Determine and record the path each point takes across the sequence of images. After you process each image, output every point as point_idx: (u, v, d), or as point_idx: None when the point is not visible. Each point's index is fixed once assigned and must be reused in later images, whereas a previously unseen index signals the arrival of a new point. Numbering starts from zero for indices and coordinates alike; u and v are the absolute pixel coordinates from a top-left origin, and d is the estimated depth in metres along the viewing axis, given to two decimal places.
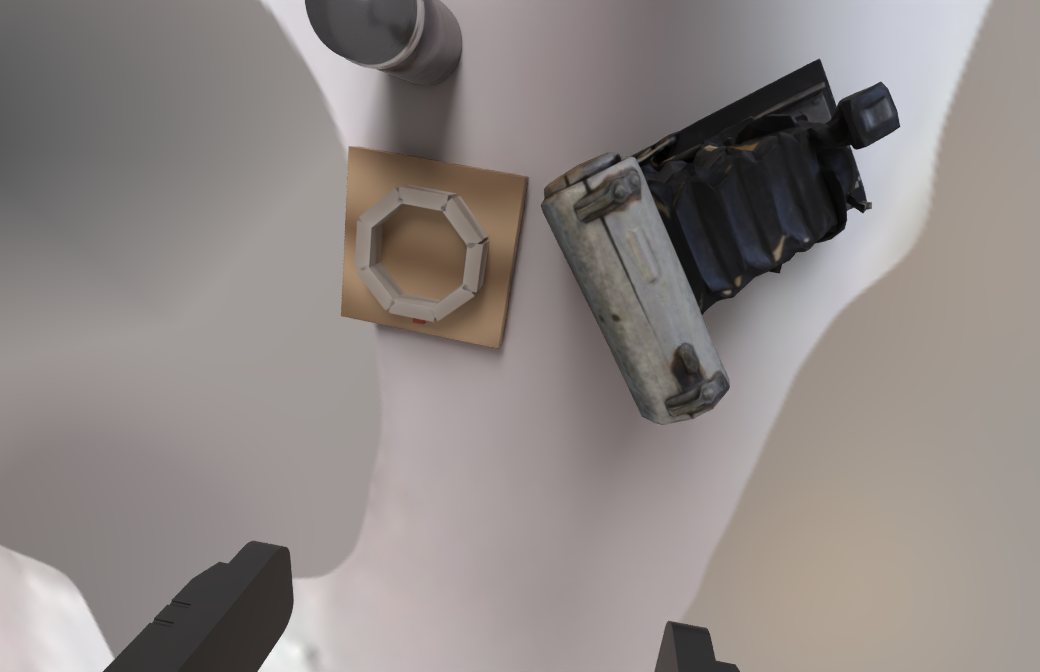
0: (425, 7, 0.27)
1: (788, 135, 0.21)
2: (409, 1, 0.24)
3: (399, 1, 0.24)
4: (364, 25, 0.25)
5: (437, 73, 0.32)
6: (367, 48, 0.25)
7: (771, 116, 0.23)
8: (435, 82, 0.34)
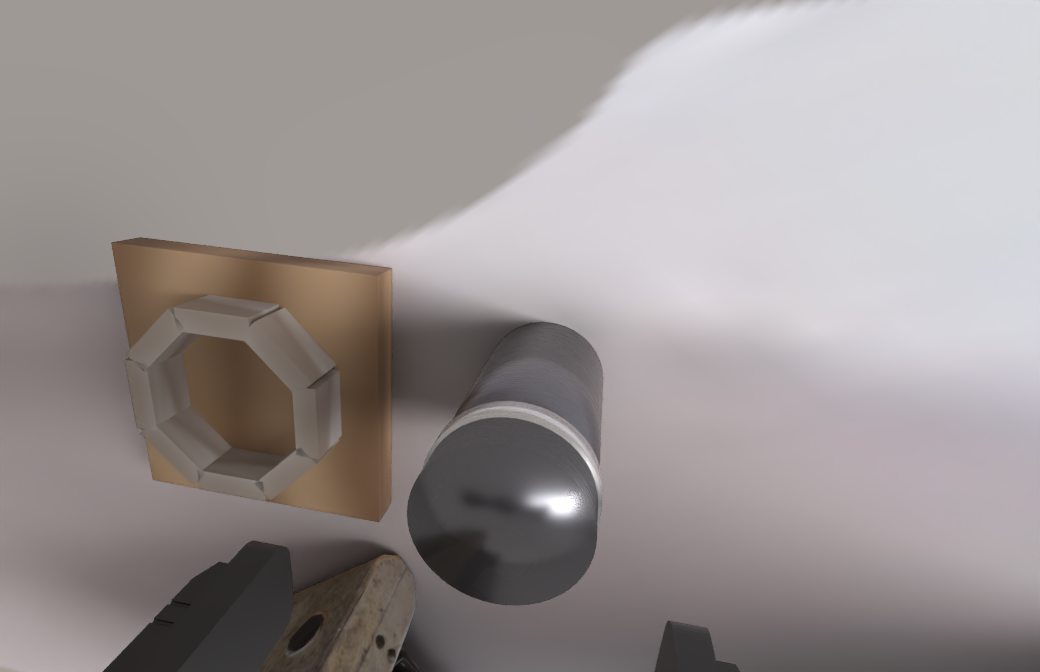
0: None
1: None
2: (505, 597, 0.15)
3: (501, 594, 0.14)
4: (461, 537, 0.14)
5: None
6: (427, 537, 0.14)
7: None
8: None
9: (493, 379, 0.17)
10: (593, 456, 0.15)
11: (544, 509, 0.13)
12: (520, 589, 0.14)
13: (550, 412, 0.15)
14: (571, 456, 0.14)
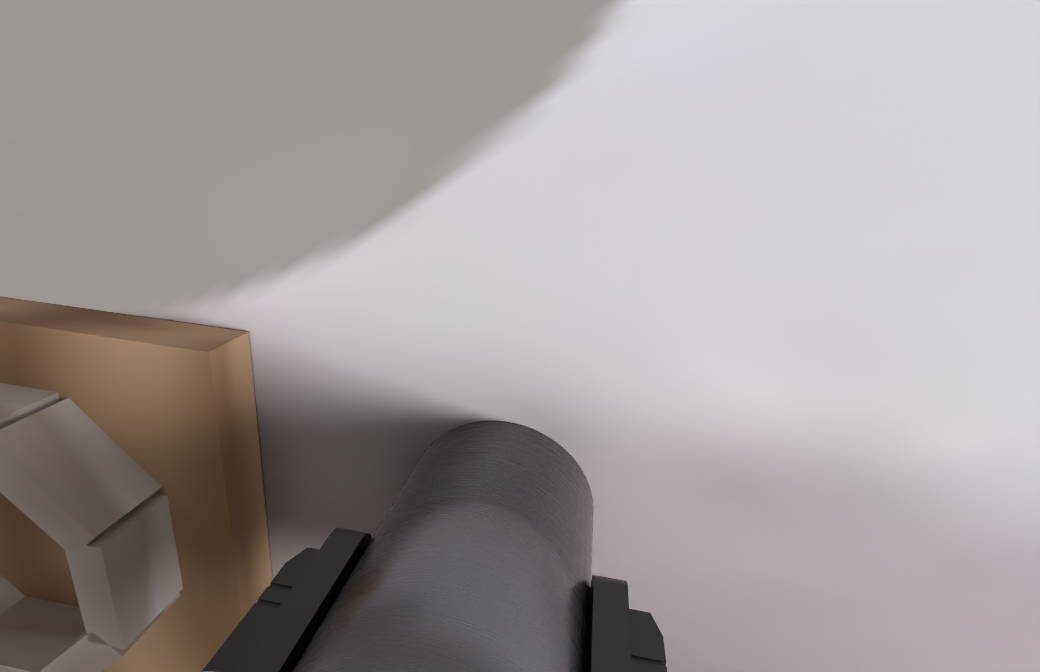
0: None
1: None
2: None
3: None
4: None
5: None
6: None
7: None
8: None
9: (369, 599, 0.08)
10: None
11: None
12: None
13: None
14: None
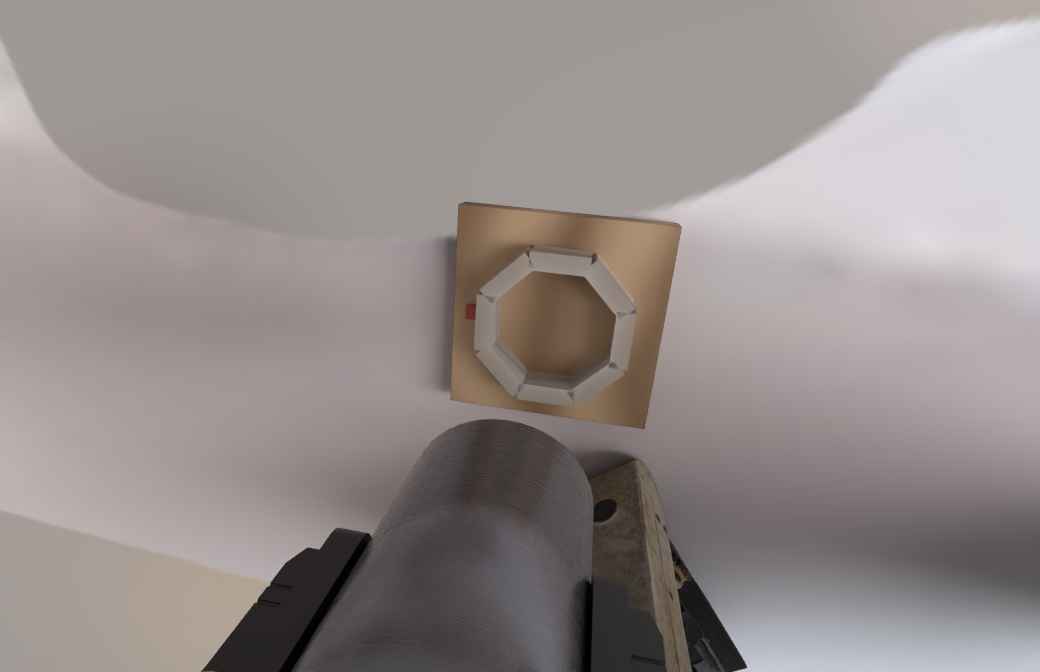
0: None
1: None
2: None
3: None
4: None
5: None
6: None
7: None
8: None
9: (369, 596, 0.08)
10: None
11: None
12: None
13: None
14: None
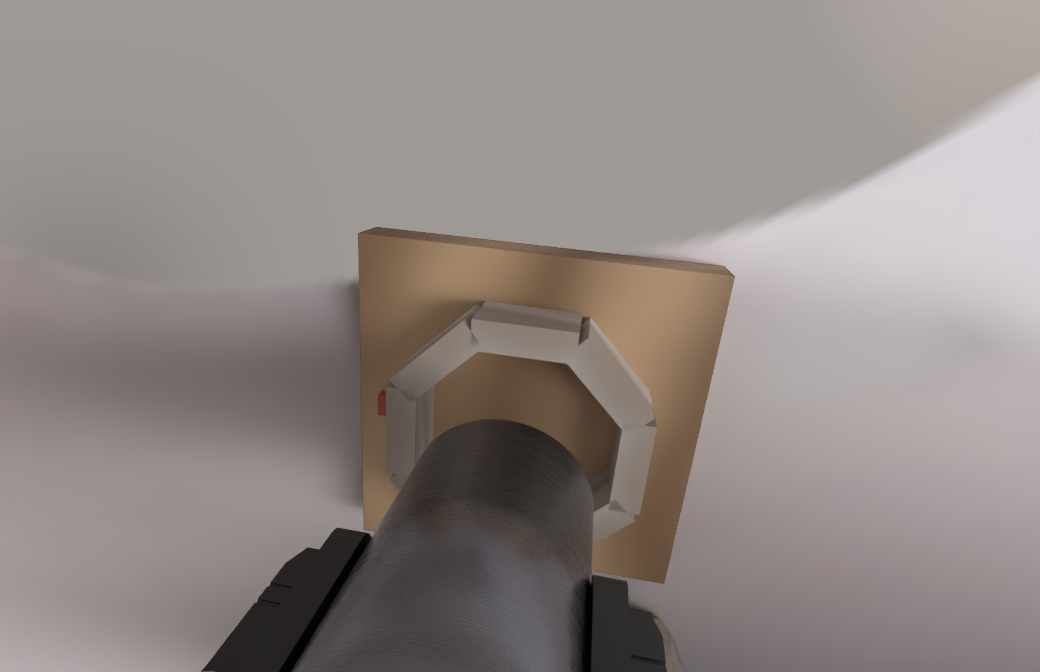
0: None
1: None
2: None
3: None
4: None
5: None
6: None
7: None
8: None
9: (369, 595, 0.08)
10: None
11: None
12: None
13: None
14: None
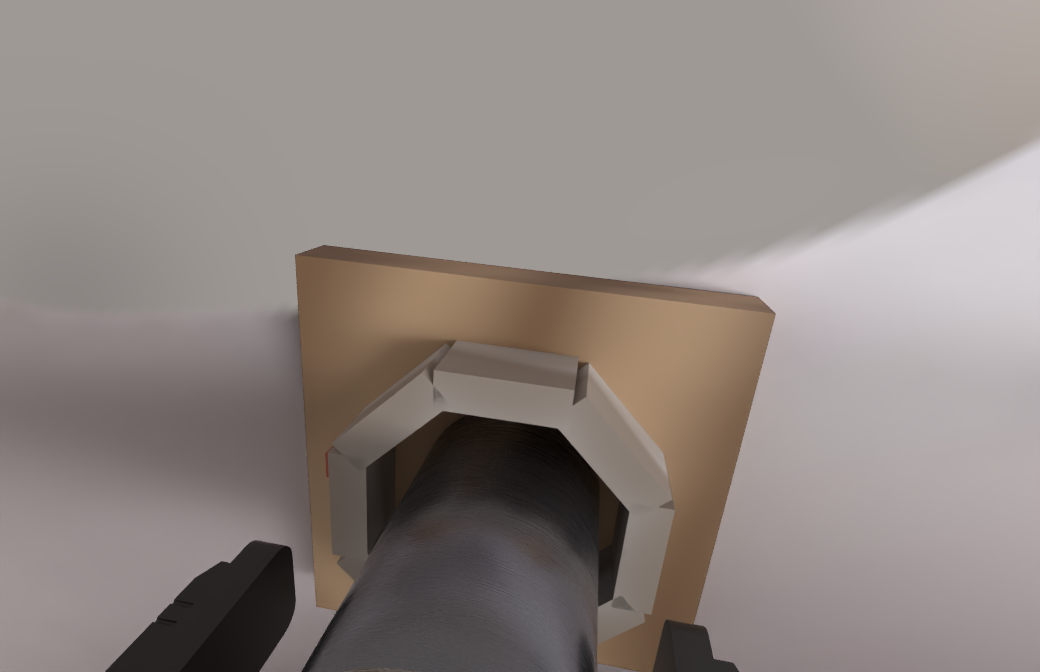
0: None
1: None
2: None
3: None
4: None
5: None
6: None
7: None
8: None
9: (395, 564, 0.09)
10: None
11: None
12: None
13: None
14: None
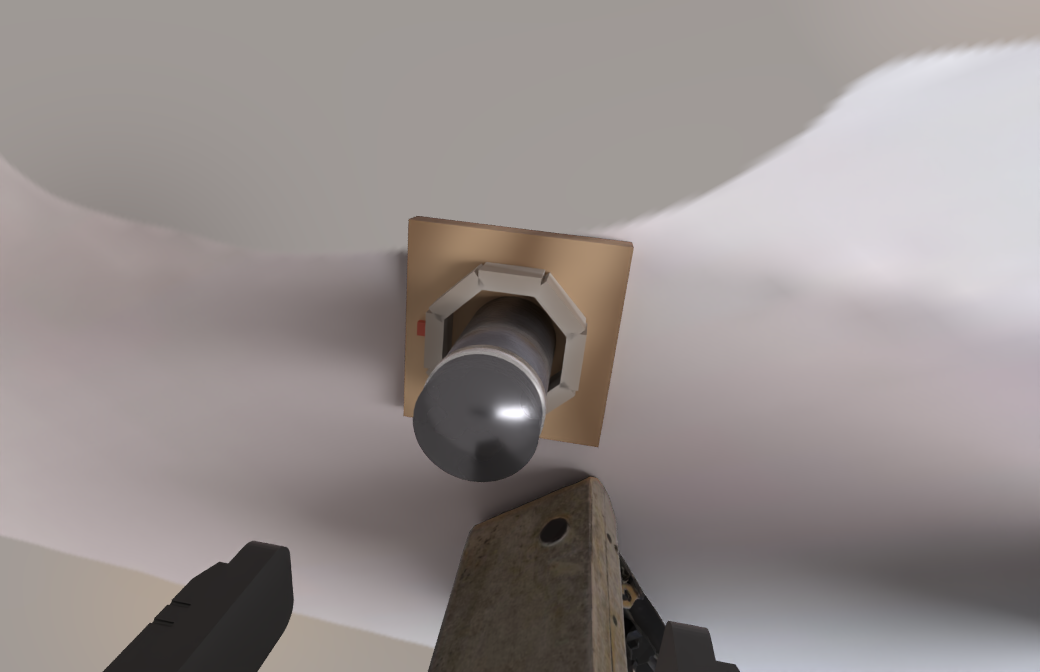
0: None
1: None
2: (479, 477, 0.22)
3: (476, 474, 0.21)
4: (449, 434, 0.21)
5: None
6: (426, 435, 0.21)
7: None
8: None
9: (471, 333, 0.24)
10: (539, 382, 0.22)
11: (505, 412, 0.20)
12: (489, 470, 0.21)
13: (510, 352, 0.22)
14: (523, 378, 0.21)
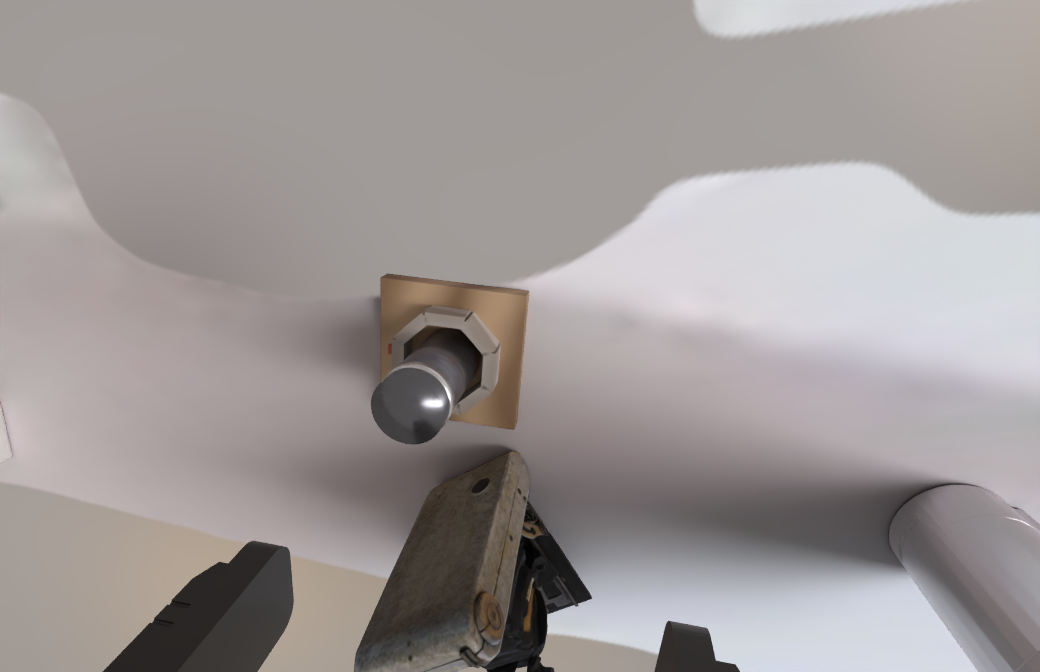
0: None
1: (531, 651, 0.39)
2: (411, 442, 0.36)
3: (408, 439, 0.36)
4: (392, 415, 0.35)
5: None
6: (379, 415, 0.35)
7: (546, 626, 0.41)
8: None
9: (413, 354, 0.38)
10: (448, 385, 0.36)
11: (423, 402, 0.34)
12: (416, 437, 0.35)
13: (431, 366, 0.36)
14: (435, 383, 0.35)
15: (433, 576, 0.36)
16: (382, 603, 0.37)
